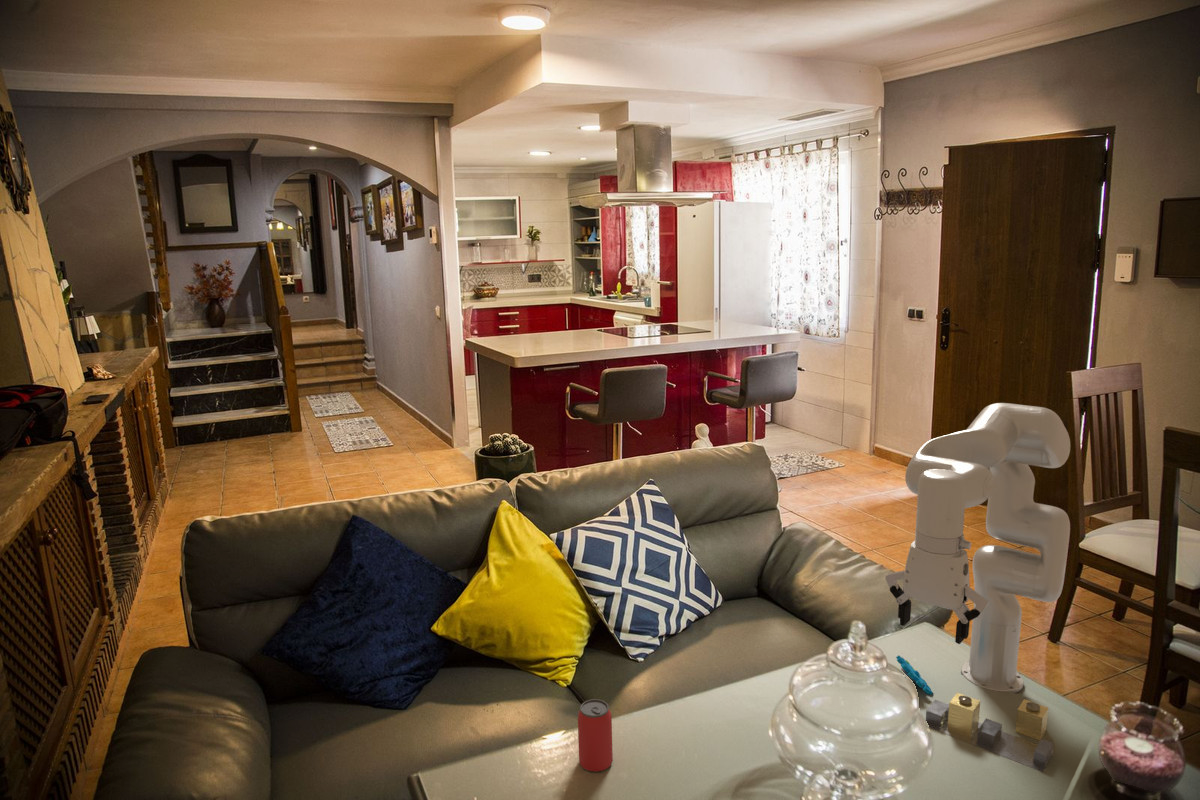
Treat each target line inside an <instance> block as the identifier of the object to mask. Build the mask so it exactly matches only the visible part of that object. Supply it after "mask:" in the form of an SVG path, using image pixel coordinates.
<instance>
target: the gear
mask: <svg viewBox="0 0 1200 800" xmlns="http://www.w3.org/2000/svg"><path fill="white" fill-rule="evenodd" d="M895 659H896V661H897V662H898V664H900V667H901V668H900V670H901V671H903V672H904V673H905V674H906V675H907V676H908V677H909V678H910V679H911V680H912V681H913V682H915V684H916V685H917V686H918V687H919V688H922V690H923V691H924V693H926V694H927V695H928V696H932V695H934V692H933V690H932V688H931V687H930V686H929V685H928V683H927V682H926V680H924V678H922V676H921V674H920V672H919V671H918V670H916V669H915V668H914V667H913V666H912V664H910V662H909V661H908V660H907V659H906V660H905V658H904V657H903V656H901V655H897V656H896V657H895Z"/></svg>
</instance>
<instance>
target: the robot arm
mask: <svg viewBox="0 0 1200 800" xmlns="http://www.w3.org/2000/svg"><path fill="white" fill-rule="evenodd" d="M1070 453H1071V439H1070V436H1069V432H1068V430H1067V428H1066V427H1065V425H1064V422H1063V421H1062V419H1061V417H1060V416H1059V415H1058V413H1056V412H1055V411H1053V410H1052V409H1049V408H1047V407H1043V406H1037V405H1035V406H1033V405H1025V404H1017V403H1009V402H1007V403H1006V402H996V403H992V404H989V405H987V406H985V407H984V408H983V409H982V410H981V411H980V412H979V413H978V415H977V416H976V417H975V418H974V419H973V421H972V422H971V423H970V425H969V426H968V427H967V428H966V429H964V430H960V431H956V432H953V433H949V434H946V435H942V436H938V437H935V438H932V439H930V440H928V441H926V442H925V443H924V444H923V445H921V447H919V449H918V450H917V451H916V452H915V453H914V455H913V456H912V457H911V459H910V461H909V463H908V465H907V467H906V469H905V478H904V479H905V484H906V487H907V488H908V490H909V491H911V493H913V494H914V495H916V496H917V501H916V514H915V515H916V517H915V519H916V520H915V532H914V533H915V535H914V540H913V541H912V543H911V544H910V547H909V550H908V552H907V553H908V554H907V557H906V558H907V559H906V562H905V568H904V570H901V571H894V572H891V573H887V574H886V575H885V579H884V580H886V583H887V586H888V587H889V591H890V593H891V594H892V596H893V597H894V599H895V602H896V603H897V604H898V609H897V618H898V619H899V626H902V627H904V626H906V625H907V624H908V623H909V622H910V621H911V616H912V615H911V612H912V601H911V599H914V600H916V601H920V602H923V603H925V604H930V605H933V606H937V607H940V608H944V609H948V610H950V611H953V612H954V614H955V615H956V617H957V618H958V619H959V620H958V621H957V622H956V627H955V628H956V629H955V637H954V638H955V639H954V642H955V643H956V644H958V645H961V644H962V642H963V641H964V640H967V639H968V637H969V634H970V622H971V621H972V625H971V637H970V639H971V640H970V650H969V660H968V661H967V662H964V664H962V665H961V669H960V675H962V676H963V677H964V678H965V679H966V680H967V681H969V682H970V683H972V684H973V685H975V686H978V687H980V688H983V689H986V690H990V691H994V692H995V691H996V692H1011V693H1014V694H1016V693H1018V692H1020V691H1021V690H1022V689H1023V688H1024V679H1023V677H1022V675H1021V674H1020V673H1019V672H1018V671H1017V670H1018V660H1019V647H1020V637H1021V629H1022V628H1021V627H1022V626H1021V625H1022V617H1023V616H1022V614H1023V613H1022V607H1021V604H1020V601H1019V600H1018V599H1017V596H1019V597H1023V598H1028V599H1030V600H1035V601H1038V602H1039V601H1040V602H1044V603H1053V602H1055V601H1057V600H1058V599H1059V597H1060V596H1061V594H1062V591H1063V587H1064V582H1065V575H1066V567H1067V561H1068V560H1067V559H1068V552H1069V551H1068V550H1069V543H1070V534H1071V521H1070V518H1069V516H1068V513H1067V512H1066V511H1065V510H1064V509H1062V508H1060V507H1057V506H1053V505H1049V504H1044V503H1038V502H1035V501H1034V492H1035V485H1036V479H1035V478H1036V477H1035V476H1034V473H1033V471H1032V469H1031V468H1030V466H1034V467H1041V468H1047V469H1057V468H1060V467H1062V466H1063V465H1065V464H1066V462H1067V460H1068V459H1069V456H1070ZM986 501H987V506H986V517H985V529H986V532H987V534H988V535H989V536H990V537H992V538H994V539H996V540H999V541H1002V542H1005V543H1010V544H1015V545H1019V546H1023V547H1028V548H1032V549H1036V550H1037V551H1038V552H1039V553H1040V554H1038V553H1033V552H1028V551H1024V550H1021V549H1017V548H1012V547H1007V546H1002V545H997V544H996V545H995V544H985V545H983V546H981V547H979V548H978V549H977V550H976V551H975V553H974V555H973V557H972V575H973V583H974V584H973V585H974V589H973V588H972V587H970V566H969V556H968V551H967V550H971V548H972V541H969V540H967V539H965V533H964V525H965V524H964V523H965V514H966V513H965V511H966V509H969V508H973V507H977V506H980V505H982V504H983V503H984V502H986ZM899 580H903V583H902V587H901V586H900V585H899V584H898V581H899ZM910 598H911V599H910ZM969 600H970V601H971V602H972V603H973V608H972V609H970V608H969V606H968V605H967V603H968V601H969Z"/></svg>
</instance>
